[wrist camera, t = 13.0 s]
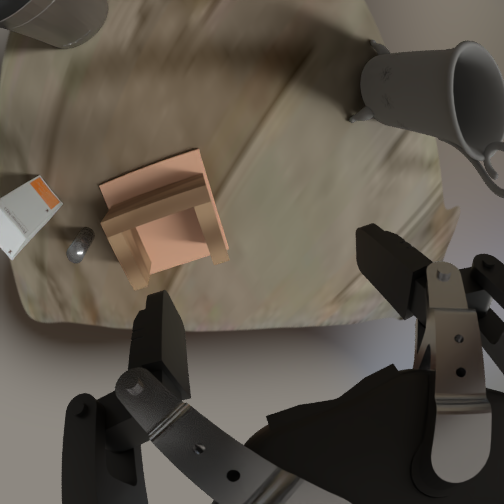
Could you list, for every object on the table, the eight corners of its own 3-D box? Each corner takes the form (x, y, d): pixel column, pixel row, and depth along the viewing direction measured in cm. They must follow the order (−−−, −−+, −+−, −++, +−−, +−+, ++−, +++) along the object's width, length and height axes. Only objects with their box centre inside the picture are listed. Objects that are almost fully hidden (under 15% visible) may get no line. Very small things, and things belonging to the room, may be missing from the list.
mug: (329, 40, 30) (476, 10, 9) (404, 41, 31) (534, 42, 10) (354, 159, 40) (488, 227, 18) (420, 144, 41) (539, 193, 19)
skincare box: (64, 202, 33) (27, 240, 23) (48, 221, 33) (11, 262, 23) (39, 172, 30) (-6, 200, 20) (24, 192, 30) (-20, 225, 20)
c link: (111, 205, 34) (100, 223, 29) (202, 173, 35) (205, 185, 30) (139, 266, 39) (134, 290, 34) (223, 239, 40) (229, 260, 35)
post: (77, 230, 35) (63, 250, 30) (90, 225, 35) (77, 244, 30) (84, 244, 36) (72, 265, 31) (97, 239, 37) (85, 260, 31)
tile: (100, 184, 33) (99, 186, 33) (198, 148, 34) (198, 149, 34) (141, 274, 41) (140, 277, 40) (228, 246, 42) (229, 249, 41)
